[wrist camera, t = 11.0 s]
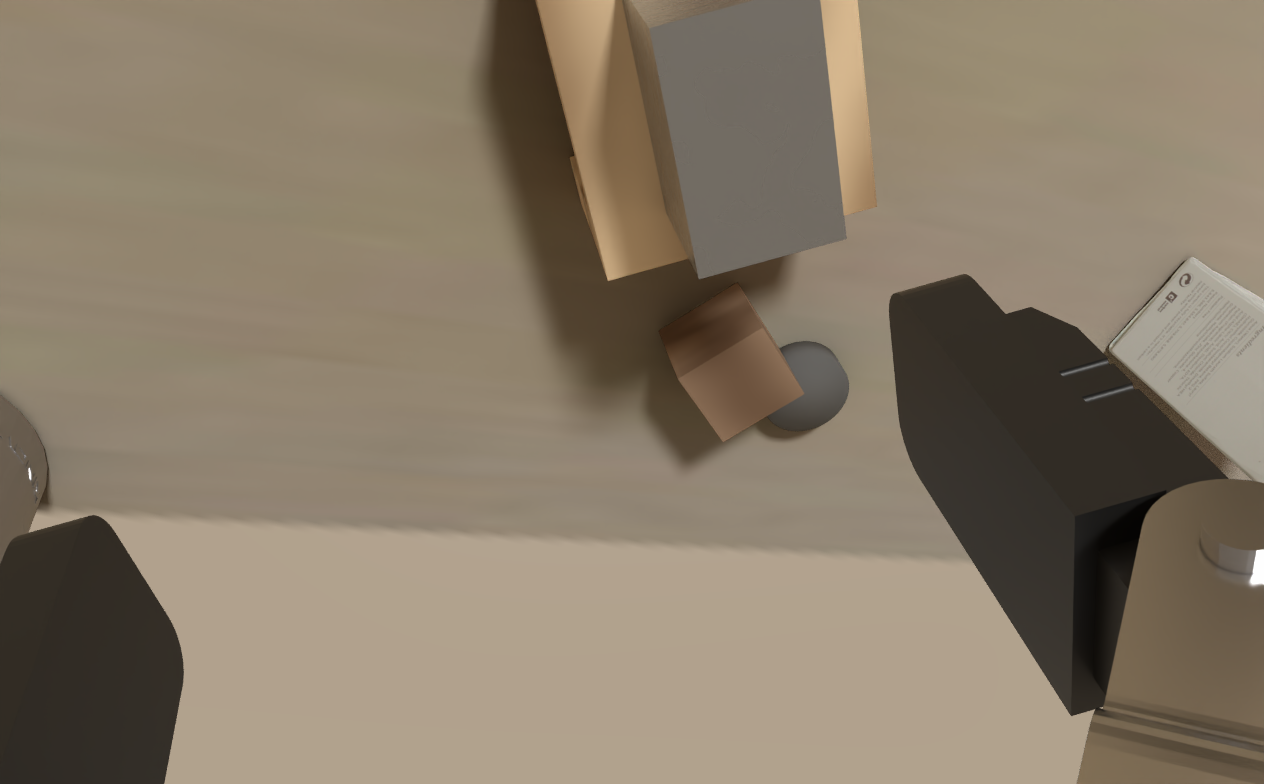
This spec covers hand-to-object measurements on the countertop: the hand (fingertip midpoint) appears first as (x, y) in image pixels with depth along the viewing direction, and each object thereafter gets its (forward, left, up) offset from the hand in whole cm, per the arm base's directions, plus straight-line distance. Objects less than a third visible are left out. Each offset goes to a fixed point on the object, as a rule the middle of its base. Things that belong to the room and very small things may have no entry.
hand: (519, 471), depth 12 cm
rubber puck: (+10, -24, -33) cm, 42 cm away
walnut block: (+7, -21, -33) cm, 40 cm away
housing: (+7, -7, -27) cm, 29 cm away
